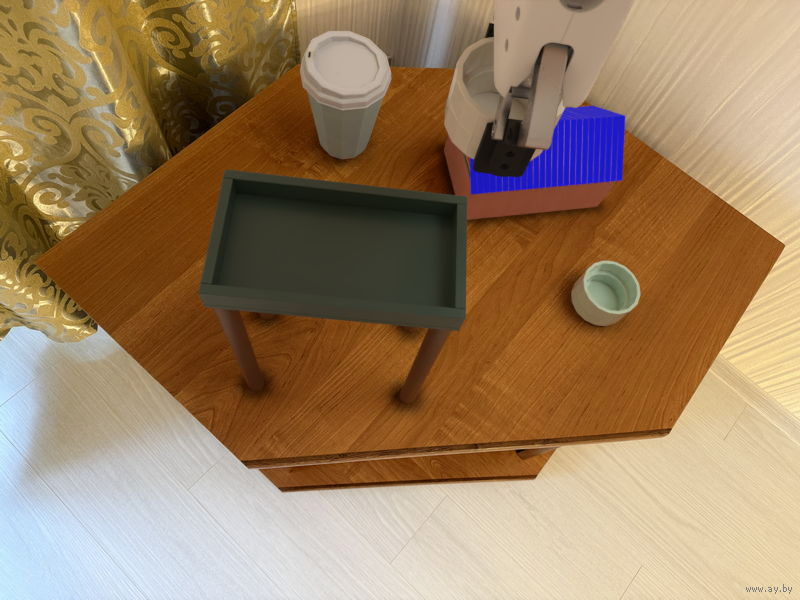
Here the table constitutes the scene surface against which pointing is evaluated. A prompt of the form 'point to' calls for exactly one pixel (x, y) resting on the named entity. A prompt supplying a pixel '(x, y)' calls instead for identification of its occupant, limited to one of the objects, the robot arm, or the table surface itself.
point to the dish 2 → (605, 293)
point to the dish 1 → (479, 98)
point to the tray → (336, 260)
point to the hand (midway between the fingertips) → (497, 120)
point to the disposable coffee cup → (344, 89)
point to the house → (549, 169)
